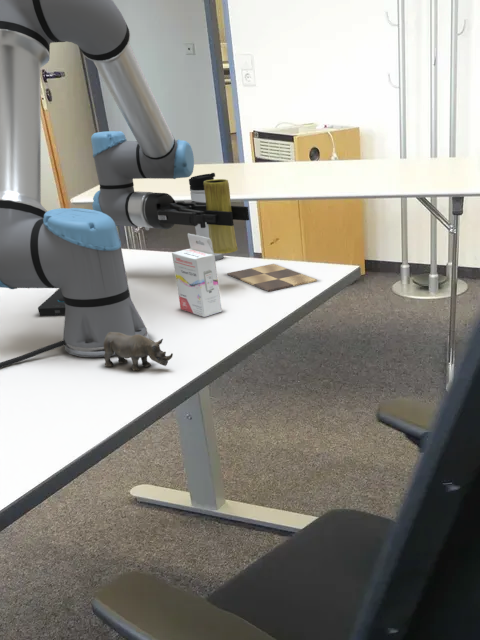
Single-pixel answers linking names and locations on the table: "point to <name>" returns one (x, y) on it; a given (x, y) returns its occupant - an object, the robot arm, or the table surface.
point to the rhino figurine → (133, 349)
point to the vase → (220, 201)
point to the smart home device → (53, 305)
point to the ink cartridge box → (197, 277)
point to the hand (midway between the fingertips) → (239, 216)
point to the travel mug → (199, 196)
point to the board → (271, 277)
